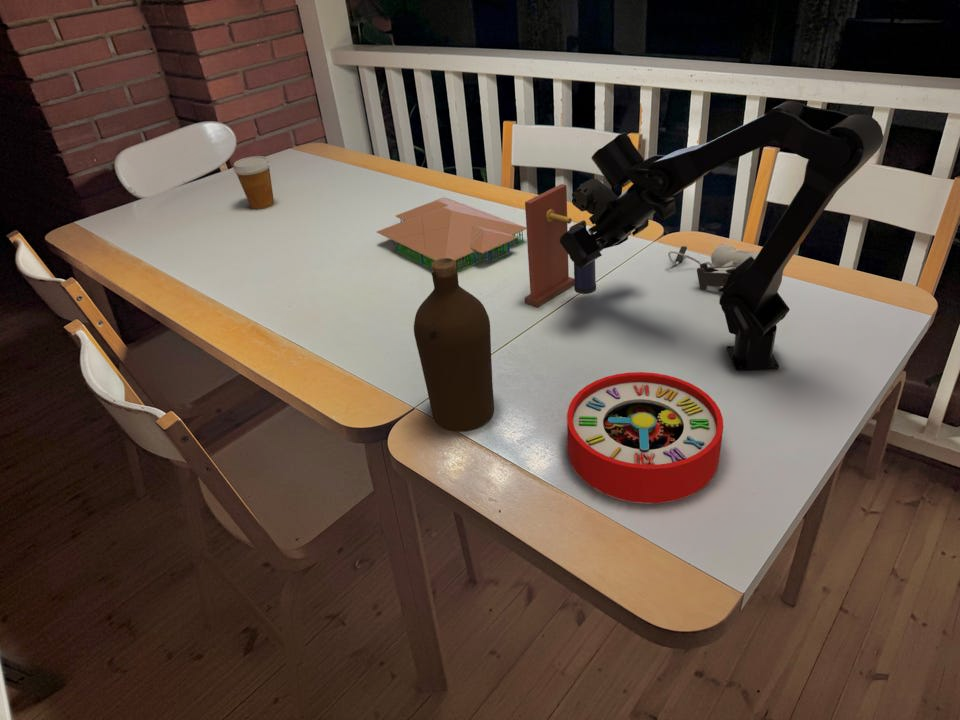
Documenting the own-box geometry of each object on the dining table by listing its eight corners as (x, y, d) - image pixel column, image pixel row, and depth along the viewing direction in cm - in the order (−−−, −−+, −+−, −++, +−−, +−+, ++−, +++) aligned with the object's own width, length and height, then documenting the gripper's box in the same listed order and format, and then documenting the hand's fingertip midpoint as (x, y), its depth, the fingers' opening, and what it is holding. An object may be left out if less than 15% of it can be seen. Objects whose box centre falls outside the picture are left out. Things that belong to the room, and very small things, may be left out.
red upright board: (590, 289, 133) (589, 188, 122) (552, 313, 126) (548, 209, 115) (562, 279, 137) (559, 181, 126) (524, 302, 131) (518, 201, 120)
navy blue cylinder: (583, 281, 130) (581, 214, 123) (600, 287, 128) (599, 218, 120) (564, 293, 127) (561, 225, 120) (582, 299, 125) (579, 229, 117)
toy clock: (714, 373, 97) (733, 472, 81) (710, 405, 101) (728, 507, 84) (570, 370, 101) (562, 465, 85) (571, 402, 104) (563, 499, 88)
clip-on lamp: (656, 284, 138) (733, 296, 123) (650, 255, 135) (728, 264, 121) (694, 259, 143) (773, 268, 128) (689, 230, 140) (769, 236, 125)
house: (454, 283, 140) (449, 246, 135) (368, 239, 162) (362, 206, 158) (537, 245, 151) (535, 209, 147) (446, 209, 173) (442, 177, 169)
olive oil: (502, 430, 100) (487, 276, 87) (429, 439, 100) (403, 286, 86) (494, 387, 109) (479, 241, 95) (427, 396, 109) (402, 251, 95)
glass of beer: (237, 211, 186) (224, 167, 180) (257, 197, 194) (245, 155, 187) (268, 212, 183) (256, 167, 177) (286, 198, 191) (275, 155, 184)
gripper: (636, 152, 118) (584, 201, 131) (567, 186, 107) (518, 236, 120) (674, 205, 117) (618, 249, 130) (608, 245, 107) (555, 289, 120)
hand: (578, 254), depth 125 cm, fingers closed on navy blue cylinder, 4 cm apart
